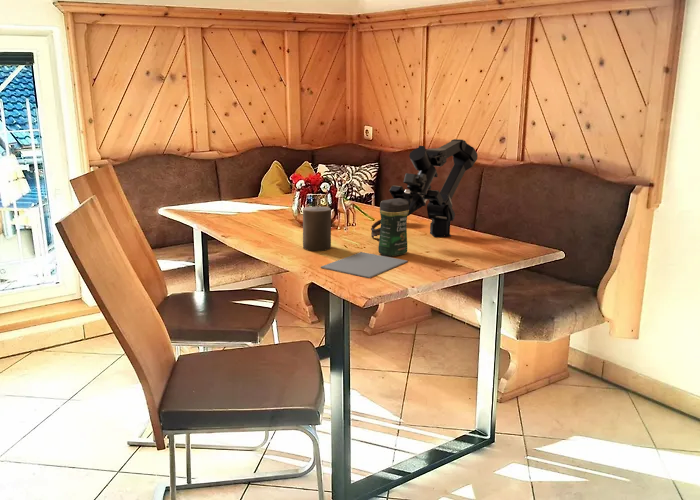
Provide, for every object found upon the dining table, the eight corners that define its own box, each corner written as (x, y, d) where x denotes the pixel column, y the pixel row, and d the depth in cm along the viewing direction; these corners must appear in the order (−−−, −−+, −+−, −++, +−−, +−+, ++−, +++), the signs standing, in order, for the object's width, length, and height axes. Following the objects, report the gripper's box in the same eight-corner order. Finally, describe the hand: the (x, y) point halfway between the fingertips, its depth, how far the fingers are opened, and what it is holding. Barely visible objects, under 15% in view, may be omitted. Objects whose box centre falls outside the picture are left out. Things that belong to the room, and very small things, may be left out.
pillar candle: (324, 252, 217) (324, 208, 213) (298, 249, 220) (297, 206, 217) (335, 246, 226) (335, 203, 222) (309, 243, 229) (309, 201, 225)
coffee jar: (391, 258, 210) (392, 202, 205) (374, 253, 216) (375, 198, 211) (411, 253, 216) (413, 198, 211) (394, 249, 222) (396, 195, 217)
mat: (361, 253, 216) (361, 251, 216) (407, 261, 206) (407, 260, 206) (320, 267, 199) (320, 266, 199) (369, 278, 189) (369, 276, 189)
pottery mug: (400, 242, 233) (390, 224, 229) (377, 252, 235) (367, 234, 232) (400, 227, 243) (391, 209, 240) (378, 237, 246) (368, 219, 242)
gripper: (392, 162, 224) (374, 197, 218) (440, 166, 214) (422, 204, 208) (403, 182, 233) (386, 217, 227) (450, 187, 222) (433, 224, 216)
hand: (406, 215), depth 219 cm, fingers closed
